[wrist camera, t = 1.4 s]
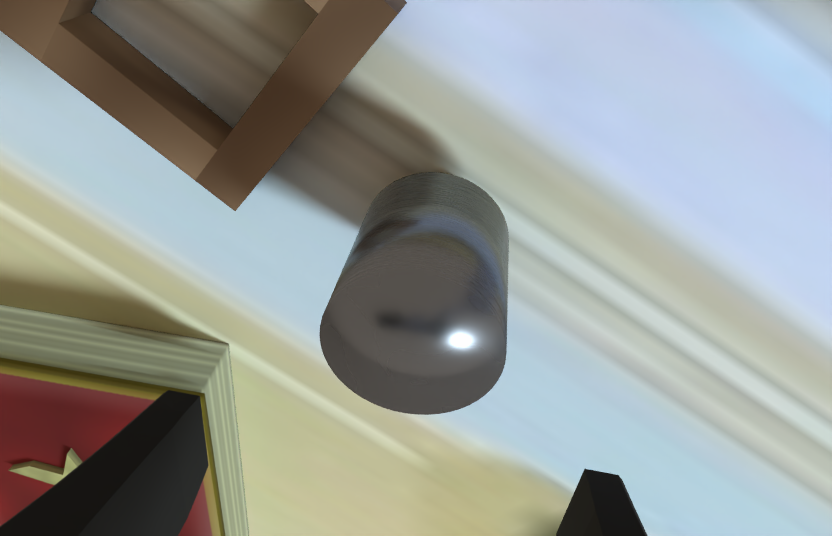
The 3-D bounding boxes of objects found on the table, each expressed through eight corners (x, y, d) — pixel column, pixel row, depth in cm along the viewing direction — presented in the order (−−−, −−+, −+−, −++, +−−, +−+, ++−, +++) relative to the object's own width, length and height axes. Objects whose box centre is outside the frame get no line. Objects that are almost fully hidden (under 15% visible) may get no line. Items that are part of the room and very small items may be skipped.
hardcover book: (76, 557, 37) (31, 628, 34) (-35, 284, 25) (-122, 350, 22) (265, 594, 36) (238, 670, 33) (241, 330, 25) (196, 407, 21)
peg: (538, 212, 19) (547, 354, 14) (444, 288, 21) (418, 438, 16) (437, 118, 18) (401, 233, 12) (349, 209, 20) (284, 342, 14)
